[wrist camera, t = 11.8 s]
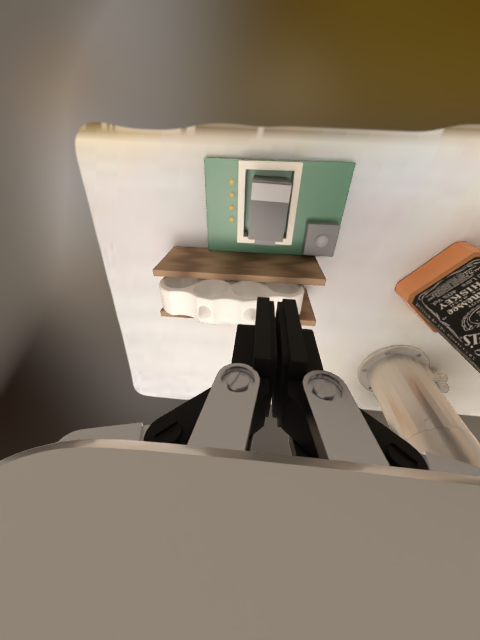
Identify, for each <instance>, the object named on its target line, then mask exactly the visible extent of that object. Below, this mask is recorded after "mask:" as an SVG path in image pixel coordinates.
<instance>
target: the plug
mask: <svg viewBox="0 0 480 640" xmlns="http://www.w3.org/2000/svg"><path fill="white" fill-rule="evenodd" d="M291 187H292V183H291V182H290V181H289V179H288V178H287V177H274V176H261V175H254V177H253V181H252V192H251V206H250V219H249V232H248V239H251V240H255V243H254V244H261V245H273V246H275V242H283V235H284V229H285V223H286V217H287V210H288V204H289V200H290V193H291Z"/></svg>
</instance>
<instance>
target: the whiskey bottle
mask: <svg viewBox="0 0 480 640" xmlns="http://www.w3.org/2000/svg"><path fill="white" fill-rule="evenodd" d="M395 291H396V293H397V294H398V295H399V296H400V297H401V298H402V299H403V300H404V301H405V302H406V304H407V305H408V306H409V307H410V308H411V309H412V310H413V311H414V312H415V314H416V315H417V316H418V317H419V318H420V319H421V320H422V321H423V322H424V323H425V324H426V325H427V326H428V327H429V328H430V329H431V330H432V331H433V332H438V333H439V334H441V335H442V336H443V337H444V338H445V339H446V340H447V341H448V342H449V343H450V344H451V345H452V346H453V347H454V348H455V349H456V350H457V351H458V352H459V353H460V354H461V355H462V356H463V357H464V358H465V359H466V360H467V361H468V362H469V363H470V364H471V365H472V366H473V367H474V368H475V369H476V370H477V371H478V372H479V373H480V249H479V248H477V247H475V246H473V245H471V244H469V243H468V242H456V243H454V244H453V245H451V246H450V247H448V248H447V249H446V250H444V251H443V252H441V253H440V254H438V255H437V256H436V257H434V258H433V259H431V260H430V261H428V262H427V263H426V264H424V265H423V266H421V267H420V268H418V269H417V270H416V271H414V272H413V273H411V274H410V275H408V276H407V277H406V278H404V279H403V280H401V281H400V282H398V283H397V285H396V288H395Z"/></svg>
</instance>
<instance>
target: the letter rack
mask: <svg viewBox="0 0 480 640" xmlns="http://www.w3.org/2000/svg"><path fill="white" fill-rule="evenodd" d="M153 274H154V276H165V277H182V278H200V279H217V280H235V281H252V282H270V283H288V284H305V285H323V286H325V282H326V278H325V276H324V274H323V272H322V270H321V268H320V266H319V264H318V262H317V260H316V258H315V256H310V255H291V254H271V253H252V252H232V251H213V250H209V249H208V248H194V247H173V249H172V250H171V251H170V252H169V253H168V254H167V255H166V256H165V257H164V258H163V259H162V260H161V261H160V262H159V264H158V265H157V266H156V267H155V268H154V269H153ZM160 312H161V316H169V317H184V318H193V317H191V316H187V315H171V314H169V313H167V312H166V311H165V310H164V308H162V309H161V311H160ZM299 318H300V323H301V325H307V326H315V323H316V319H315V316H314V313H313V310H312V307H311V303H310V300H309V297H308V294H307V290H304V296H303V301H302V306H301V312H300V314H299Z"/></svg>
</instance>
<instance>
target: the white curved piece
mask: <svg viewBox="0 0 480 640" xmlns="http://www.w3.org/2000/svg"><path fill="white" fill-rule="evenodd" d="M159 288H160V293H161V299H162V304H163V308H164V310H165V311H166V312H167V313H169V314H171V315H187V316H191V317H193V318H195V319H197V320H198V321H200V322H204V323H209V324H213V325H214V324H219V323H231V324H236V325H238V324H247V325H255V318H256V306H257V297H268V298H270V301H274V307H275V316H276V309H277V302H278V301H279V302H282V299H295V300H296V304H297V308H298V313H299V314H300V312H301V306H302V301H303V296H304V287H303V285H302V284H288V283H270V282H252V281H235V280H217V279H200V278H182V277H164V278H163V279H162V280H161V281H160V283H159Z"/></svg>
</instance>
